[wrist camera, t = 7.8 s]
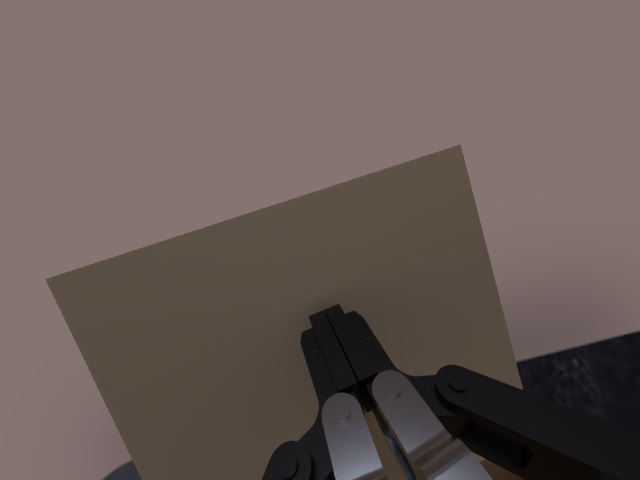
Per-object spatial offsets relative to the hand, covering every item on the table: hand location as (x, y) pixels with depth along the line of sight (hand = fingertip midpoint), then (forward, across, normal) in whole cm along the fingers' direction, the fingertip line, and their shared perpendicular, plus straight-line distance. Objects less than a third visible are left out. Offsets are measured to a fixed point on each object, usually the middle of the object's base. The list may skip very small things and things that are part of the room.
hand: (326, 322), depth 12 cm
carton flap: (-1, 0, +2) cm, 2 cm away
